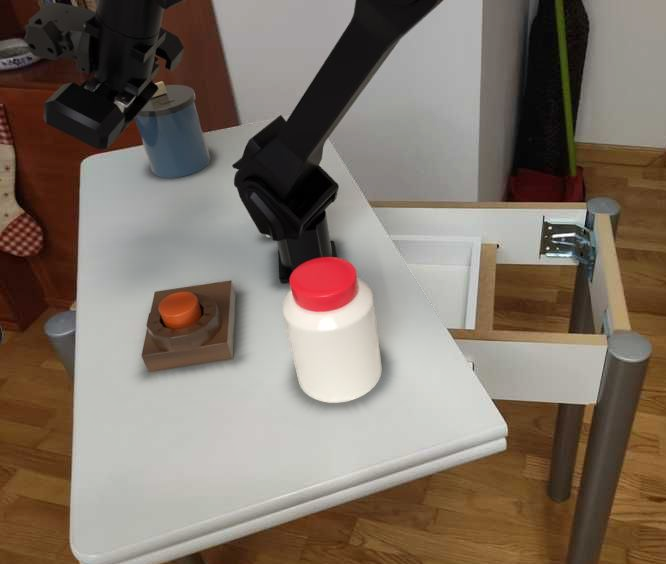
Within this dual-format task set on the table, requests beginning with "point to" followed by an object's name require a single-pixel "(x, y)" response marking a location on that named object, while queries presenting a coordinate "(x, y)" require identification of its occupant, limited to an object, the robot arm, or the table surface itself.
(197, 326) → the button block
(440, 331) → the table surface
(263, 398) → the table surface
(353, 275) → the pill bottle
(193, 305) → the button
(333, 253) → the robot arm
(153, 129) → the travel cup
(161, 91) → the cream wedge block
